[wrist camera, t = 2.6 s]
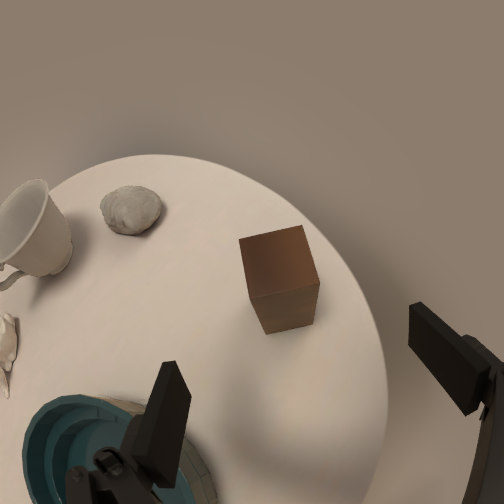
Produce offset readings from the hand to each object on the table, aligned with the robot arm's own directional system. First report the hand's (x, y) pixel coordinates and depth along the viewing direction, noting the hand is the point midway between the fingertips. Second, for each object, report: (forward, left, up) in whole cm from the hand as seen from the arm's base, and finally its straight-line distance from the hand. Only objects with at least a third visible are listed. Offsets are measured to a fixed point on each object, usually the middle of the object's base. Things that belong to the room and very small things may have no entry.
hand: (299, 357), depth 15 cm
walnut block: (+4, -5, -11) cm, 13 cm away
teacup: (+34, +5, -12) cm, 37 cm away
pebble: (+26, -7, -12) cm, 30 cm away
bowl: (+8, +20, -11) cm, 24 cm away
